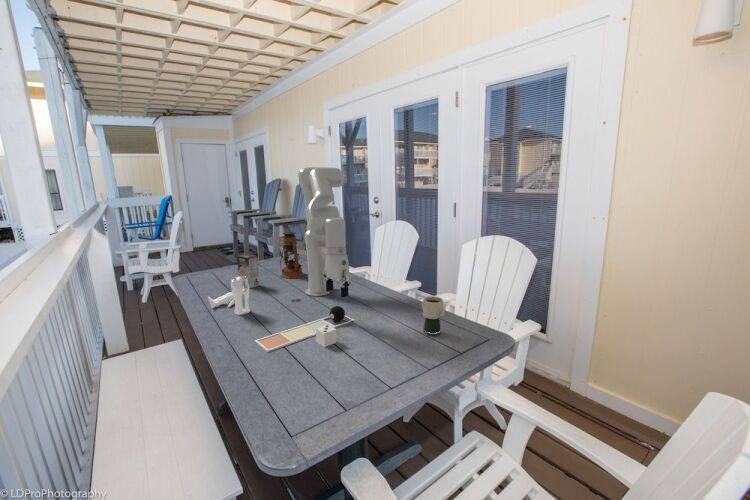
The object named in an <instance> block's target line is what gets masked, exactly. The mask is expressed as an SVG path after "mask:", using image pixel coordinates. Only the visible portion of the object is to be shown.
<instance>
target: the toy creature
mask: <svg viewBox="0 0 750 500" xmlns="http://www.w3.org/2000/svg"><path fill="white" fill-rule="evenodd" d="M207 299H208V301H209V304H210V307H211V308H212V309H215V308H217V307H219V306H221V305H227V308H230V307H231V306H233V305H235V302H234V299H233V295H232V291H231V292H227V293H226V294H224V295H221V296H218V297H217V298H215V299H213V298H212V297H210V296H209V295H208V296H207Z"/></svg>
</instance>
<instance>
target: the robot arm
mask: <svg viewBox="0 0 750 500" xmlns="http://www.w3.org/2000/svg"><path fill="white" fill-rule="evenodd" d="M297 175H298V176H297V177H298V178H297V179H298V184H299V186H300V189H301V191H302V193H303V197H304V208H305V218H306V223H307V228H308V230H307V231H305V233H304V243H305V248H306V257H307V260H306V261H307V277H308V278H307V279H308V281H307V282H308V283H307V284H308V285H307V286H308V287H307V288H306V289H305V294H306V295H308V296H310V297H314V296H315V297H321V296H326V295H329V294H331V293H332V292H333V291H334V286H337V282H338V283H340V285H341V286H340V298H342V299H344V298H347V297H348V296H349V287H350V285H351V282H352V279H353V277H352V276H351V274H350V264H349V259H348V255H347V251H346V250H347V249H346V247H347V246H346V241H347V240H346V239H347V238H346V237H347V236H346V220H345V219H344V218H343V217H342V216H341V215H340V212H339V208H338V207H337V206H336V205H331V203H333V201H334V199H335V194H334V190H333V188H341V187H342V186H343V184H344V175H343V173H342V170H341V169H340V168H339V167H321V166H320V167H316V166H315V167H313V166H311V167H309V166H308V167H303V168H301V169H300V170H299V171H298V173H297ZM322 249H325V252H324V251H323V250H322ZM330 292H331V293H330Z"/></svg>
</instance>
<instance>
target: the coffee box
mask: <svg viewBox="0 0 750 500" xmlns="http://www.w3.org/2000/svg"><path fill="white" fill-rule="evenodd" d="M236 259H237V271H238V276H247V277H248V281H249V289H252V288H256V287H258V286H260V271H259V256H258V255H254V254H250V253H243V254H239V255H237V256H236Z"/></svg>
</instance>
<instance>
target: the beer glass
mask: <svg viewBox="0 0 750 500" xmlns="http://www.w3.org/2000/svg"><path fill="white" fill-rule="evenodd" d="M230 289H231V292H232V295H233V299H234V302H235V303H234V314H235V315H237V316H243V315H246V314H249V313H250V312H251V309H250V306H249V298H250V297H249V296H250V288H249V281H248V277H247V276H239V275H237V276H233V277H232V278H230Z"/></svg>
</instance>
